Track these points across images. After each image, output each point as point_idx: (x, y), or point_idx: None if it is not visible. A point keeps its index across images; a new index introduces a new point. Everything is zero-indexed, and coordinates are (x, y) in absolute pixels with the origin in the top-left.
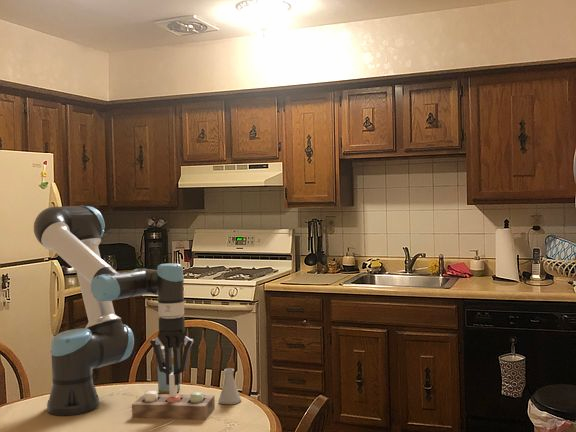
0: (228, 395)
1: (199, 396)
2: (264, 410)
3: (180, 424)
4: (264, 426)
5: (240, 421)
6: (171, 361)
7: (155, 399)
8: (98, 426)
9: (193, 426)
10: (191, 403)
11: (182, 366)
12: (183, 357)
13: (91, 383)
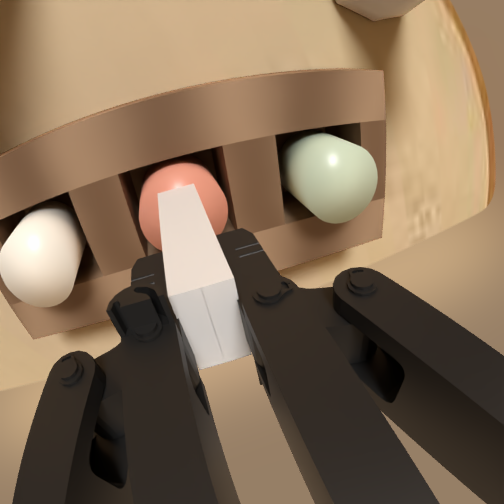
0: (402, 4)
1: (363, 204)
2: (478, 83)
3: None
4: (479, 206)
5: (441, 189)
6: (208, 452)
7: (79, 257)
8: (30, 377)
9: (325, 276)
10: (315, 228)
11: (385, 384)
12: (454, 457)
13: None
